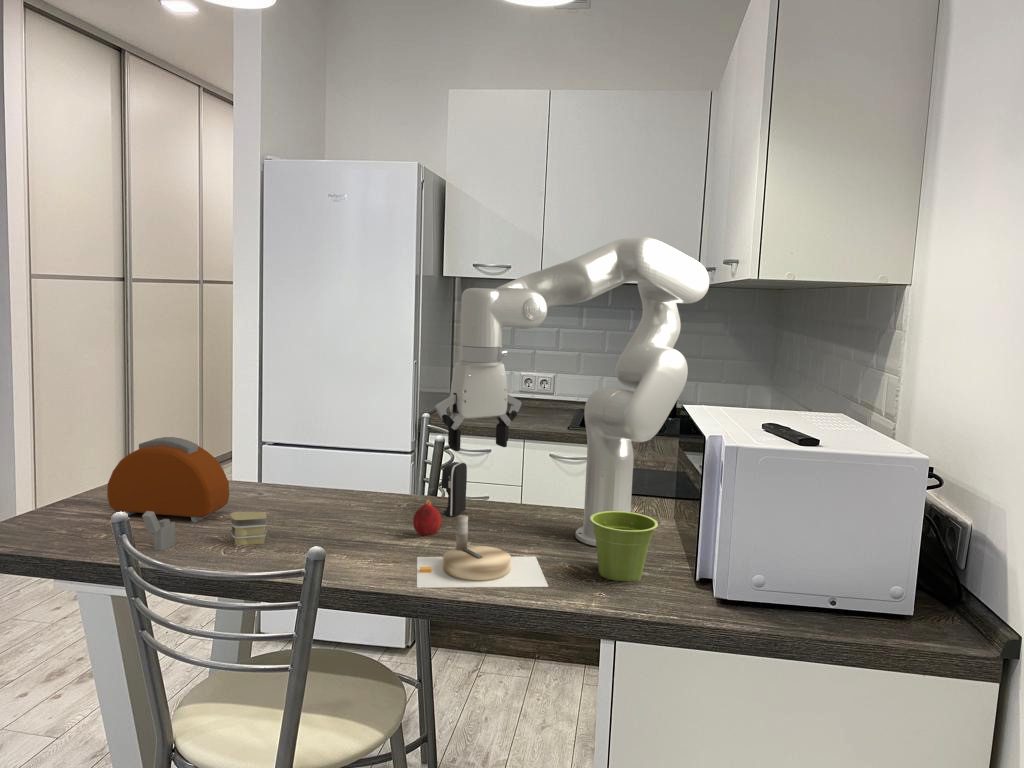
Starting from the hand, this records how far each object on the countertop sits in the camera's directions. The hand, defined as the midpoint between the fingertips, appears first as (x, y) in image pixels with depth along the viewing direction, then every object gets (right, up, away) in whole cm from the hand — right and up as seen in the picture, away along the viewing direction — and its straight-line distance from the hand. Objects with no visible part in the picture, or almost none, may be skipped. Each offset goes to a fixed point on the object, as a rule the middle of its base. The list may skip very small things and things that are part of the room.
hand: (478, 447), depth 149 cm
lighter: (-60, -19, +2) cm, 63 cm away
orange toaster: (-68, -17, +24) cm, 73 cm away
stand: (+1, -23, -8) cm, 24 cm away
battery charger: (-7, -18, +33) cm, 38 cm away
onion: (-11, -20, +13) cm, 26 cm away
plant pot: (+26, -24, -6) cm, 35 cm away
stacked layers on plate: (-46, -20, +8) cm, 50 cm away
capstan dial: (0, -21, -7) cm, 22 cm away
